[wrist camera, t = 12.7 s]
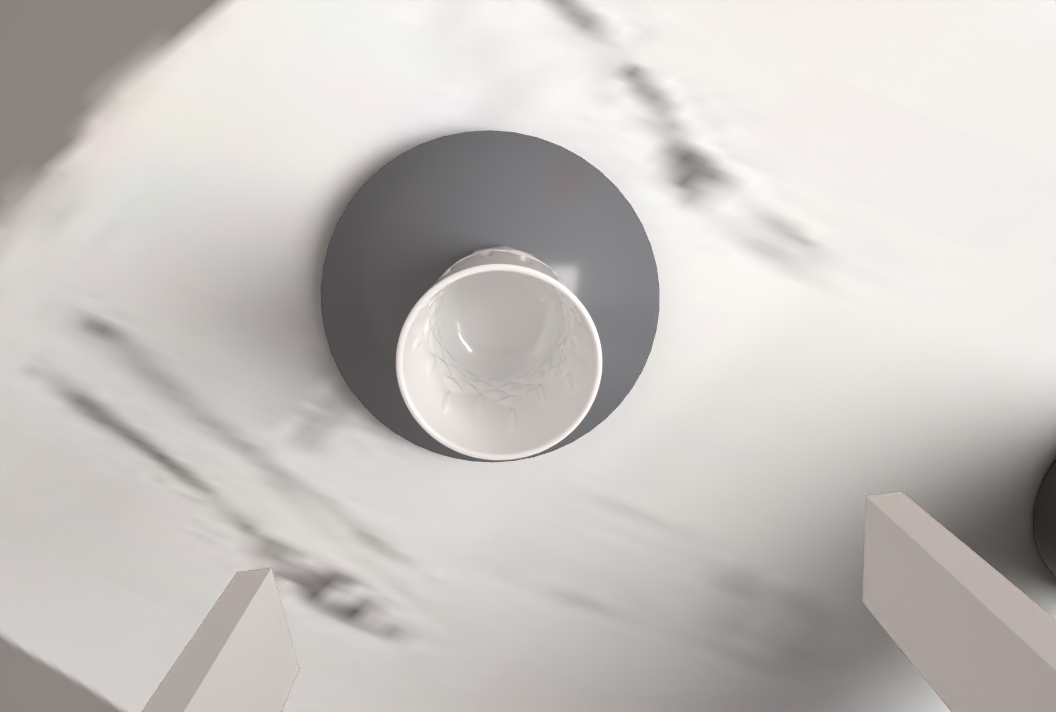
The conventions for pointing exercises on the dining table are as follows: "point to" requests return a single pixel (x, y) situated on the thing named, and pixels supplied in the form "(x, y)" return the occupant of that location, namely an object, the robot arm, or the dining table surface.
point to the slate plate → (477, 223)
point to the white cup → (499, 357)
